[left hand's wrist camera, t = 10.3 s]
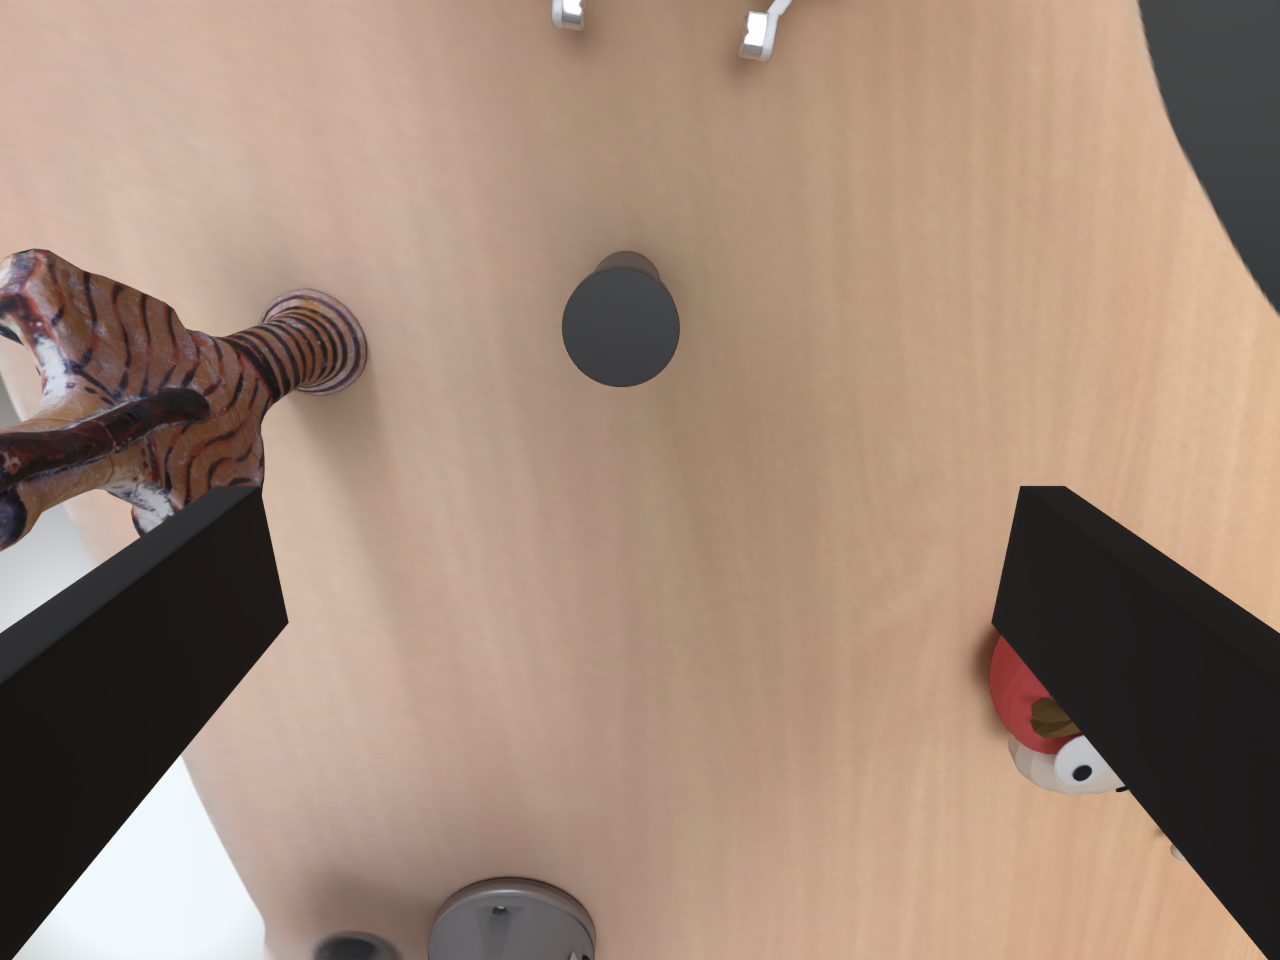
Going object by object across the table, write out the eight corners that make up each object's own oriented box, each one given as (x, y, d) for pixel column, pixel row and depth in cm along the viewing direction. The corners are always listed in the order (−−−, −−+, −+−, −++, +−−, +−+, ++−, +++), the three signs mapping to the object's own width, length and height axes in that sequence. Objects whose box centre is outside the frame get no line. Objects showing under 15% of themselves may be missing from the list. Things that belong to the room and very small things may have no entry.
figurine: (195, 268, 45) (-511, 377, 18) (290, 204, 44) (-311, 211, 16) (341, 459, 50) (-33, 784, 22) (431, 406, 49) (153, 682, 21)
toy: (1157, 954, 57) (1008, 750, 45) (1069, 846, 67) (926, 652, 55) (1369, 830, 55) (1271, 579, 43) (1247, 735, 64) (1139, 507, 52)
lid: (696, 294, 32) (699, 300, 31) (648, 393, 34) (649, 405, 32) (592, 244, 32) (589, 247, 30) (549, 349, 33) (544, 358, 31)
